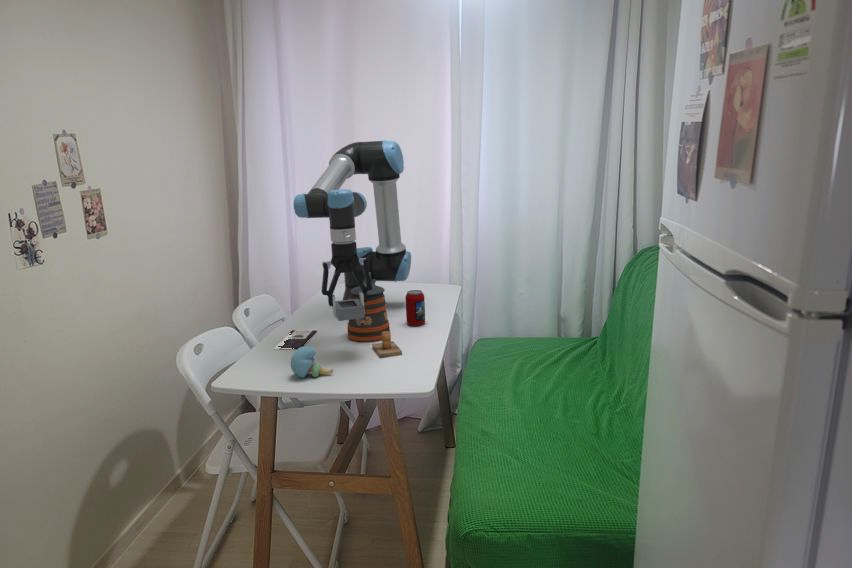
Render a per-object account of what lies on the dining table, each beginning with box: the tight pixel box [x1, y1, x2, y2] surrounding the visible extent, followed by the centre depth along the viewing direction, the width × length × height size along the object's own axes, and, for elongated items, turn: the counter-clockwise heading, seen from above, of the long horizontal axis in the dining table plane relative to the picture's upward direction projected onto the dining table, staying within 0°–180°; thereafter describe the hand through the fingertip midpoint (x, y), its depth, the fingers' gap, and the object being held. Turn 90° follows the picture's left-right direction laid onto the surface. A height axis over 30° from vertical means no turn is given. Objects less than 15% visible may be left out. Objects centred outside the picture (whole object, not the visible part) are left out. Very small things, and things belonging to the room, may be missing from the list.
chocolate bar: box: [278, 329, 318, 349], centre depth 207 cm, size 9×1×18 cm
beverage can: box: [405, 289, 426, 327], centre depth 218 cm, size 7×7×12 cm
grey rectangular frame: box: [335, 299, 365, 322], centre depth 189 cm, size 10×8×4 cm
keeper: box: [371, 331, 403, 359], centre depth 193 cm, size 10×7×6 cm
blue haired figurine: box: [290, 345, 334, 379], centre depth 175 cm, size 7×9×12 cm
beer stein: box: [347, 272, 391, 343], centre depth 209 cm, size 19×15×20 cm
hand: (348, 314), depth 189 cm, fingers closed on grey rectangular frame, 8 cm apart
